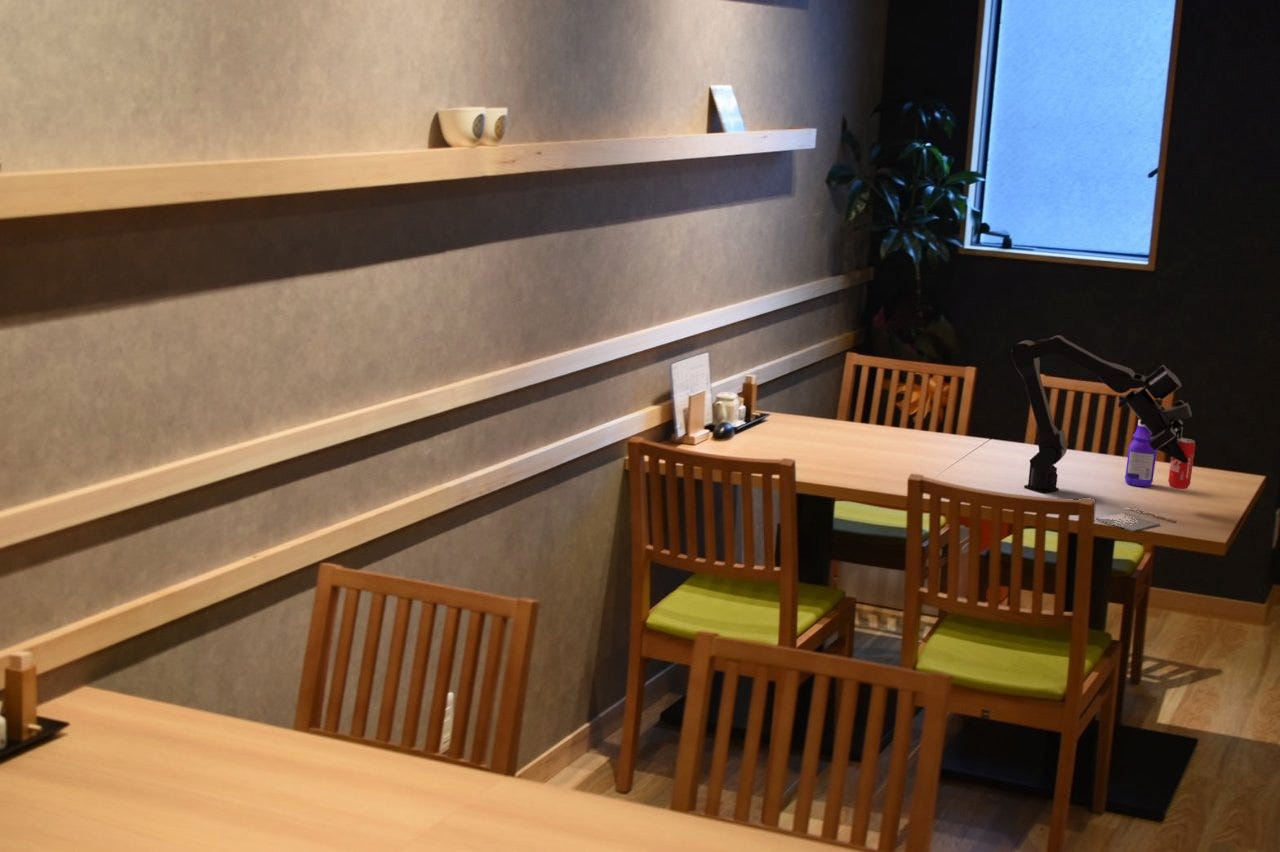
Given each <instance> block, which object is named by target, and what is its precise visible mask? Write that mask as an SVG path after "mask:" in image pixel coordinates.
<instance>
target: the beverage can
mask: <svg viewBox="0 0 1280 852" xmlns="http://www.w3.org/2000/svg"><path fill="white" fill-rule="evenodd" d="M1178 443H1179V445H1180V447H1181V448H1182V450H1183V452H1184V454H1185V455H1186V457H1187V459H1188V462H1187V463H1183V462H1181V461H1179V460H1177V459H1175V458H1174V457H1172V456H1170V464H1169V465H1170V466H1169V473H1168V474H1169V475H1168V485H1169V487H1171V488H1173V489H1178V490H1187V489H1188V488H1189V487H1190V485H1191V479H1192V474H1193V473H1192V472H1193V465H1194V460H1195V459H1194V457H1195V451H1196V441H1195V440H1194V439H1192V438H1191V439H1190V438H1187V437H1186V438H1184V437H1182V438H1178Z"/></svg>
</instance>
